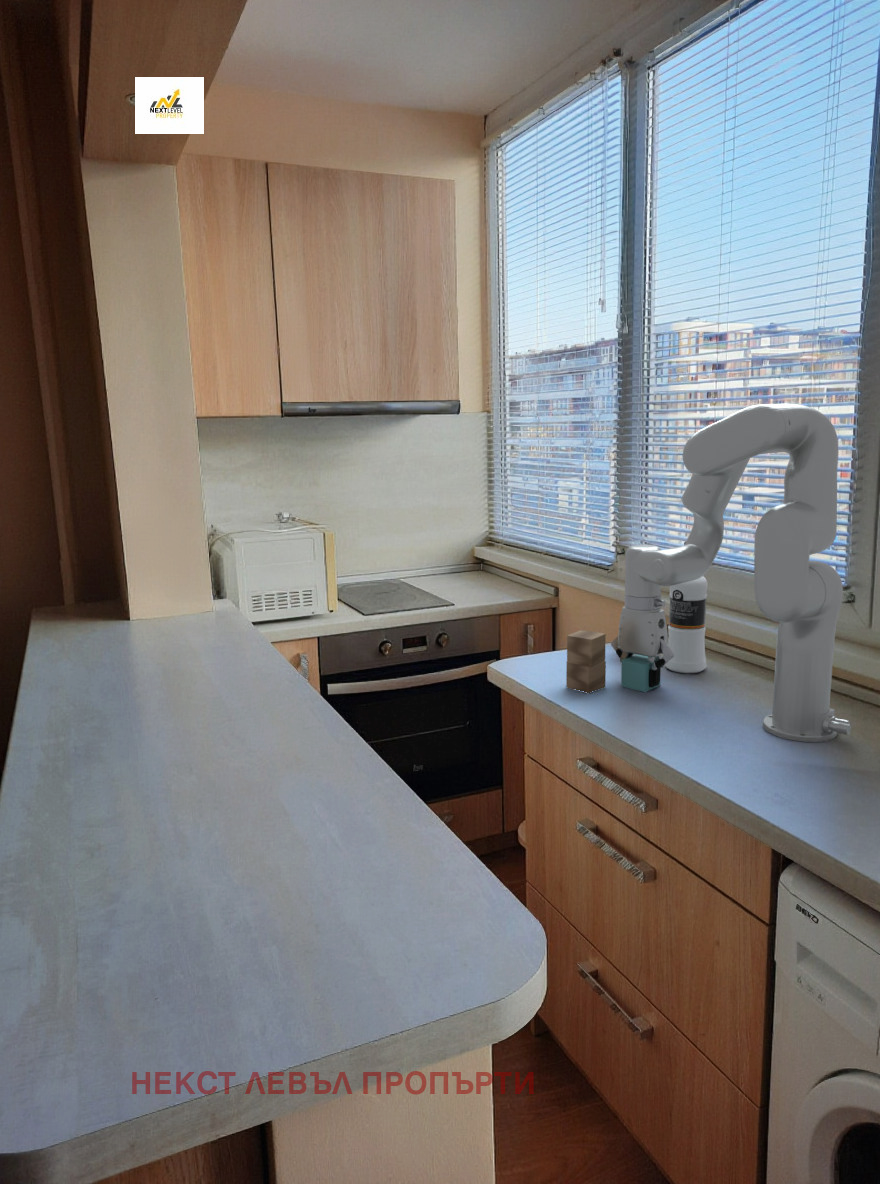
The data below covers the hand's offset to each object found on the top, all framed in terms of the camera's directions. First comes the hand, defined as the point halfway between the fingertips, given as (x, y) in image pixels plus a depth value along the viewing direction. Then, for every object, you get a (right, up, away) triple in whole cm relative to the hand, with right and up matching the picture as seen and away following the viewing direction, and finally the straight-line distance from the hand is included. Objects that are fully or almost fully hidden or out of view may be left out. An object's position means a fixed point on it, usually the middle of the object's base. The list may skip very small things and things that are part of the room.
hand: (640, 682), depth 178 cm
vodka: (+13, +2, +12) cm, 18 cm away
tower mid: (-12, +5, -1) cm, 13 cm away
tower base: (-12, -1, 0) cm, 12 cm away
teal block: (0, -1, 0) cm, 1 cm away
